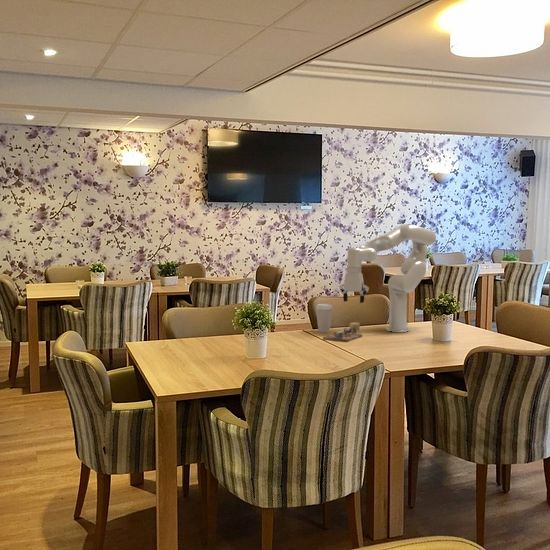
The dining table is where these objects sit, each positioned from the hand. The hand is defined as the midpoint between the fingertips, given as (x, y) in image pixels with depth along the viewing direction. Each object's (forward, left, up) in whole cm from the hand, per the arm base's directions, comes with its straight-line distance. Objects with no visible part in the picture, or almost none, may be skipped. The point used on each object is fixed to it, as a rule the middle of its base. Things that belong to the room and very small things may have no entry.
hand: (353, 302), depth 339 cm
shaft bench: (+13, 0, -18) cm, 22 cm away
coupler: (-1, 0, -18) cm, 18 cm away
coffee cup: (+1, -18, -18) cm, 25 cm away
